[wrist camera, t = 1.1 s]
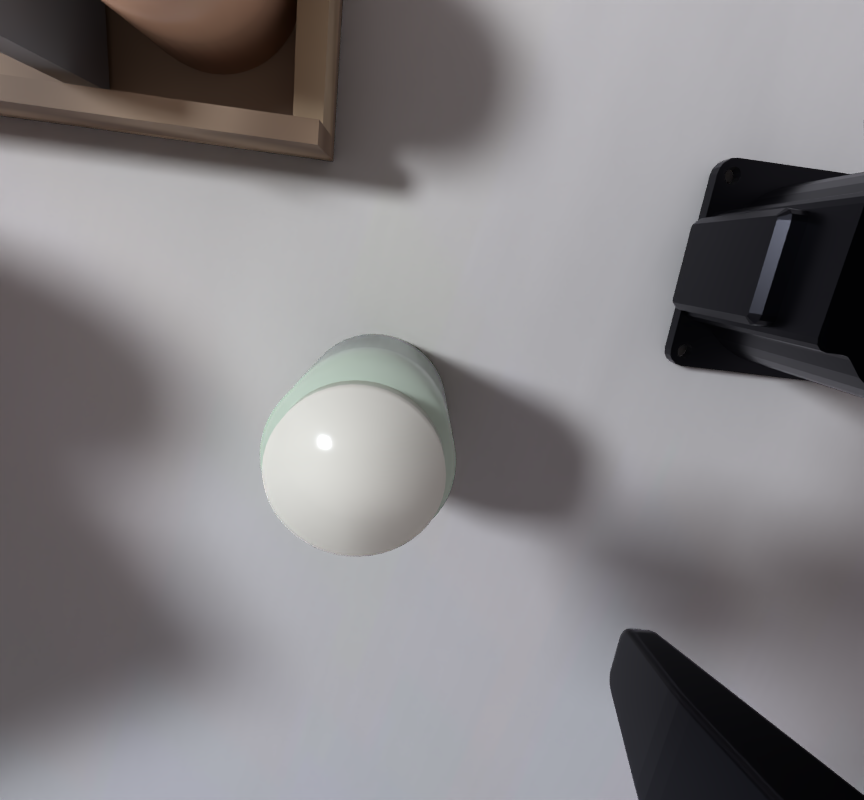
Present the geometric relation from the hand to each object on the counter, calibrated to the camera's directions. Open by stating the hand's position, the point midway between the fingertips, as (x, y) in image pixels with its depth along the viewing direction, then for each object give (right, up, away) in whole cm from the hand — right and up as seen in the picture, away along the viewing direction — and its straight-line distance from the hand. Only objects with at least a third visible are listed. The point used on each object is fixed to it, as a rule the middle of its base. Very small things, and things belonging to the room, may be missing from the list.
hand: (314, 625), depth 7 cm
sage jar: (0, +3, +10) cm, 11 cm away
